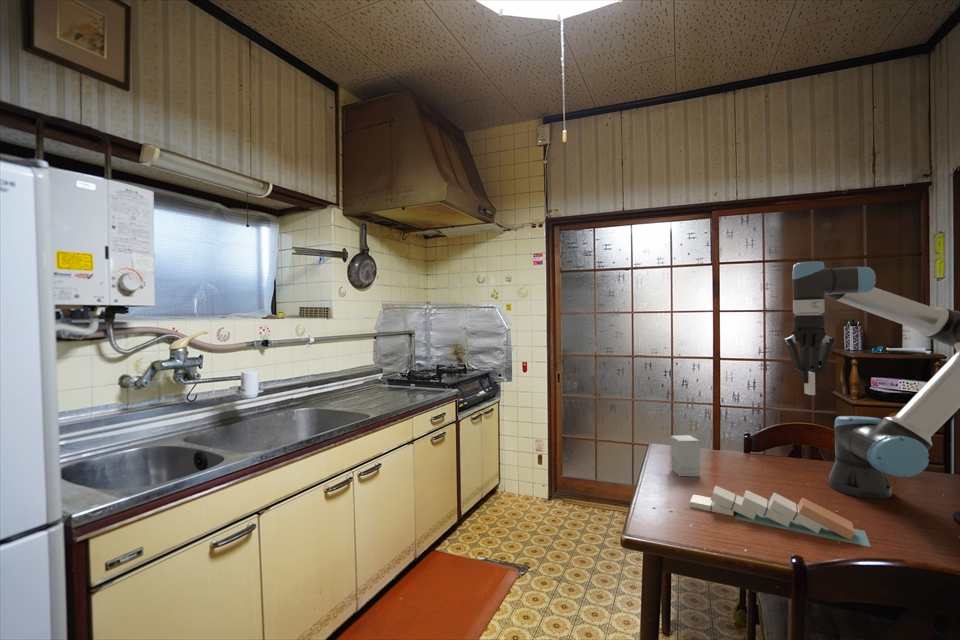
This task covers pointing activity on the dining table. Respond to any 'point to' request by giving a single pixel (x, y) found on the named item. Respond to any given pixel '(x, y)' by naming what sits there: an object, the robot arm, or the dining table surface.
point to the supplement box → (685, 455)
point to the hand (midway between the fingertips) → (809, 394)
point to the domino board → (857, 538)
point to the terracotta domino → (826, 518)
